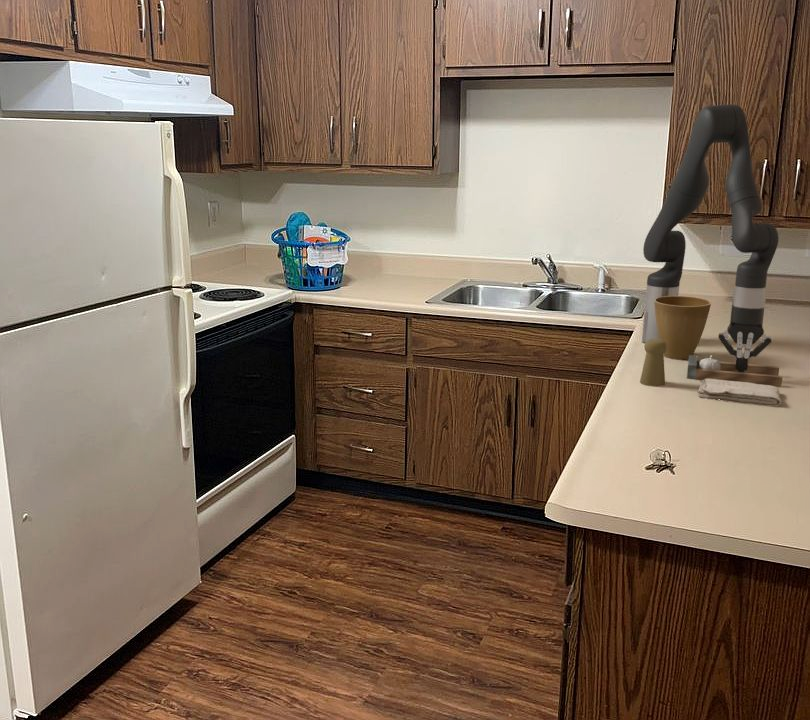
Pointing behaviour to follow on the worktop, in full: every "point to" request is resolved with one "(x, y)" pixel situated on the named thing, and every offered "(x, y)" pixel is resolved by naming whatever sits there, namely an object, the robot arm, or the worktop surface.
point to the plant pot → (681, 323)
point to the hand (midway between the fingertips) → (741, 371)
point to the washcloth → (740, 392)
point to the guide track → (736, 373)
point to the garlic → (709, 364)
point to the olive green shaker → (654, 363)
